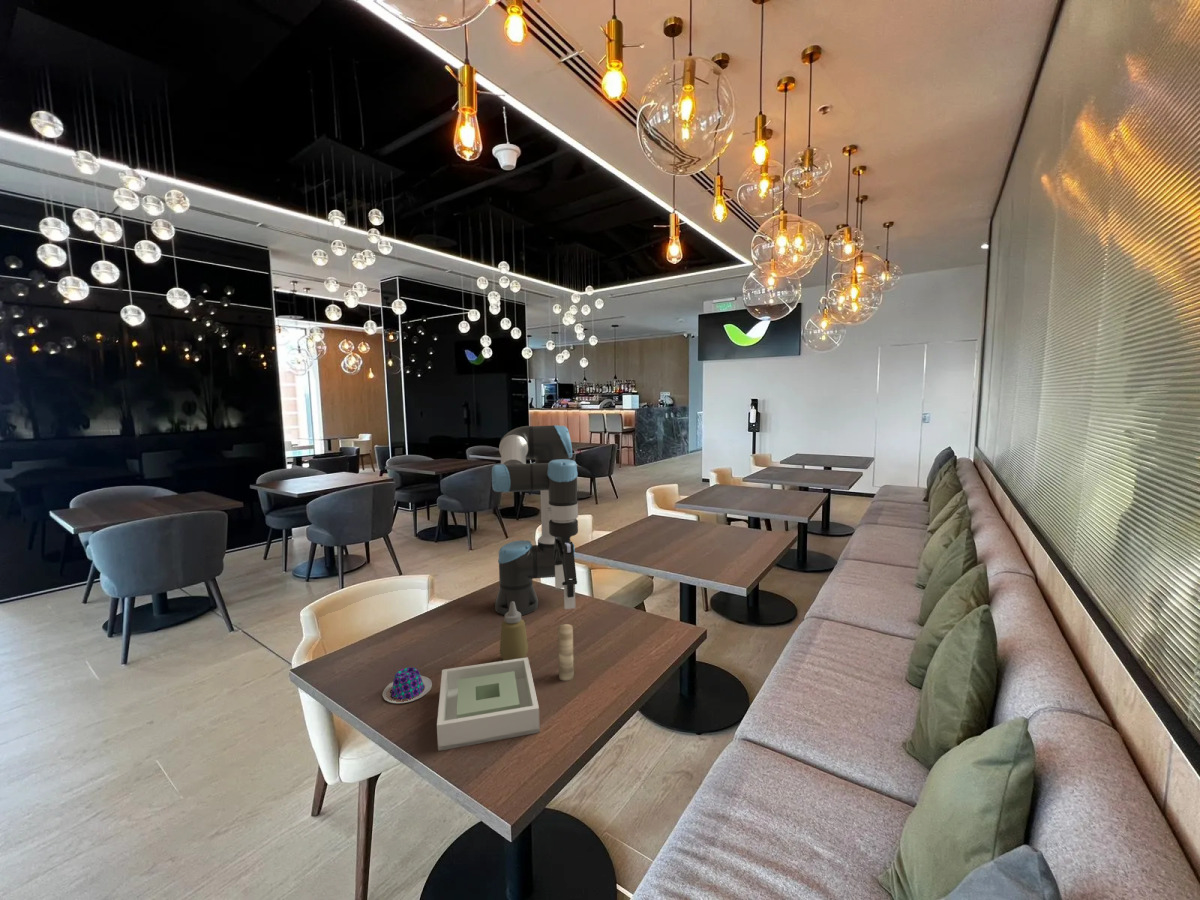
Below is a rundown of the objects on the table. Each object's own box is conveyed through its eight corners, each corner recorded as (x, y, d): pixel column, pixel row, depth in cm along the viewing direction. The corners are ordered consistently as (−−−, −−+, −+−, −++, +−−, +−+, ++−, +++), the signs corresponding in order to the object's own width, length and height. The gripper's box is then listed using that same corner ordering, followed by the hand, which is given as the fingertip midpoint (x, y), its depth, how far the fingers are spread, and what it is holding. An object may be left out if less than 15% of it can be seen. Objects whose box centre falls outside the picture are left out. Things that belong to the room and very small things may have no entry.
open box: (443, 691, 128) (442, 669, 127) (528, 678, 133) (527, 657, 133) (438, 751, 107) (436, 725, 106) (539, 732, 112) (539, 708, 112)
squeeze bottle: (522, 671, 137) (520, 609, 134) (495, 668, 138) (493, 607, 136) (532, 656, 144) (530, 597, 142) (506, 653, 146) (504, 595, 144)
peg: (557, 673, 135) (556, 625, 134) (572, 671, 136) (571, 623, 135) (560, 681, 132) (559, 632, 130) (575, 679, 133) (574, 630, 131)
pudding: (415, 672, 137) (414, 655, 136) (441, 688, 130) (440, 669, 129) (373, 694, 128) (372, 675, 127) (399, 712, 120) (397, 692, 120)
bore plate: (458, 694, 125) (458, 679, 124) (514, 685, 128) (514, 671, 128) (457, 731, 112) (456, 714, 111) (520, 720, 115) (519, 704, 115)
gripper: (542, 509, 140) (544, 581, 142) (557, 533, 116) (559, 619, 118) (568, 507, 141) (569, 578, 144) (588, 531, 117) (589, 616, 120)
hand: (564, 597), depth 131 cm, fingers open, 13 cm apart
